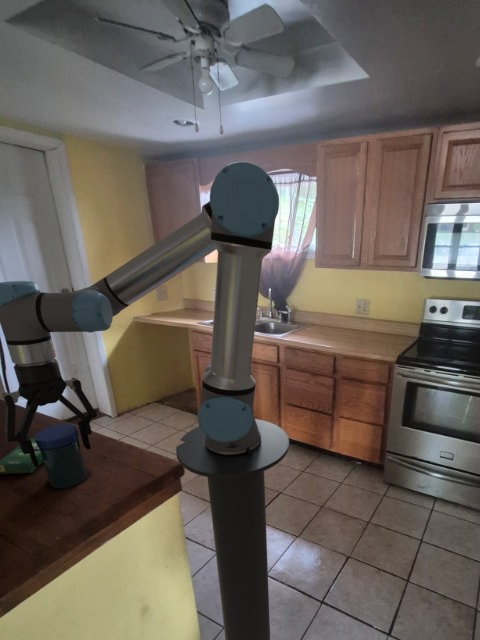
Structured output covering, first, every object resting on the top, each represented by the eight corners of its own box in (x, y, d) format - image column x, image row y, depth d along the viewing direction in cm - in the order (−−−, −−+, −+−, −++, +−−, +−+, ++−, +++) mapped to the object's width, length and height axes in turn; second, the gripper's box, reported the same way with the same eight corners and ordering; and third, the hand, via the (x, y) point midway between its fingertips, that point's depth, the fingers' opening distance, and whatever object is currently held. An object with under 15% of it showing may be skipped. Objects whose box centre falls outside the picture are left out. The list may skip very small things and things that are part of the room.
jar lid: (56, 430, 87) (54, 422, 86) (86, 433, 85) (84, 426, 85) (27, 446, 80) (25, 439, 79) (59, 451, 78) (57, 443, 77)
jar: (93, 476, 87) (82, 433, 83) (59, 492, 82) (45, 447, 77) (77, 466, 91) (66, 424, 87) (44, 480, 86) (30, 437, 81)
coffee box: (28, 447, 100) (-3, 475, 87) (25, 438, 98) (-7, 465, 86) (60, 446, 100) (33, 473, 88) (57, 436, 99) (30, 463, 87)
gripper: (88, 347, 85) (107, 433, 94) (-39, 369, 70) (-2, 468, 79) (100, 354, 80) (119, 443, 89) (-34, 378, 65) (5, 483, 74)
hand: (62, 455), depth 84 cm, fingers open, 10 cm apart
